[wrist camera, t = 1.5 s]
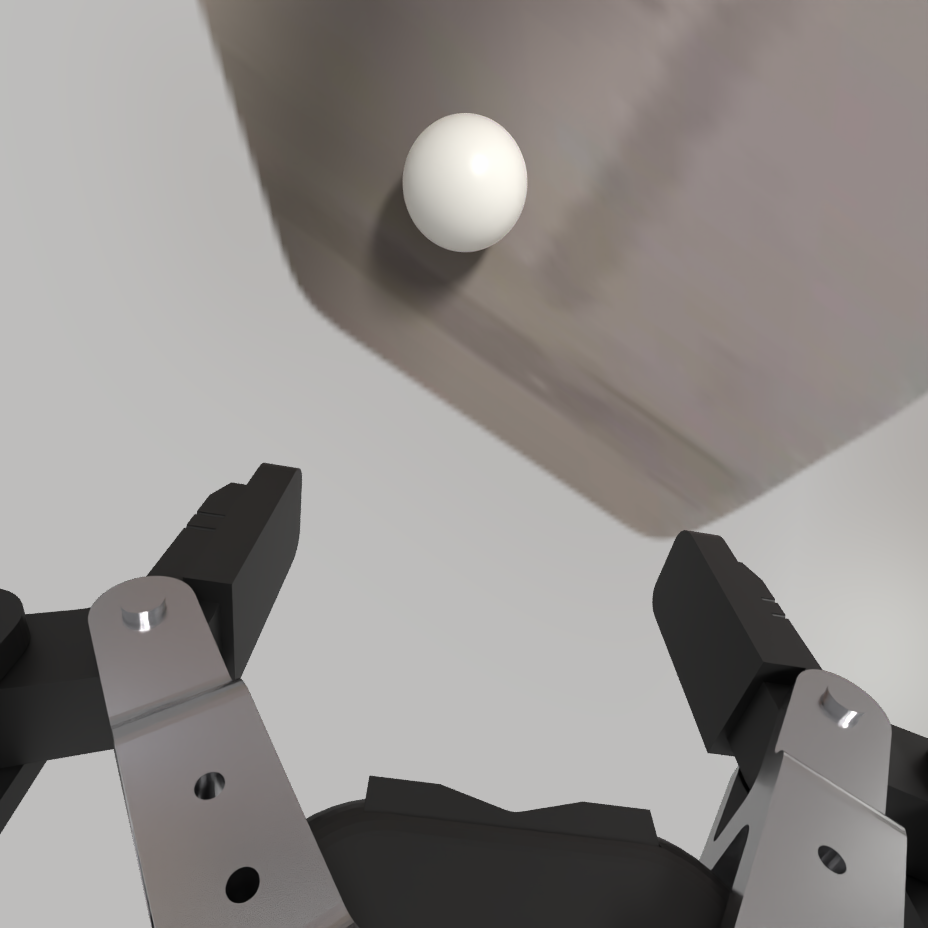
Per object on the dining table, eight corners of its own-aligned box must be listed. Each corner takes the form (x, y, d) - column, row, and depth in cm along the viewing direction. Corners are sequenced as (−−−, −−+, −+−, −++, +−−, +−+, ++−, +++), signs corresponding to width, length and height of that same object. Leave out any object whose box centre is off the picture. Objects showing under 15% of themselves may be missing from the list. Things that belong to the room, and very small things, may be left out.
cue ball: (418, 103, 26) (403, 95, 21) (535, 128, 26) (547, 126, 21) (403, 230, 29) (387, 249, 24) (509, 251, 29) (515, 273, 24)
